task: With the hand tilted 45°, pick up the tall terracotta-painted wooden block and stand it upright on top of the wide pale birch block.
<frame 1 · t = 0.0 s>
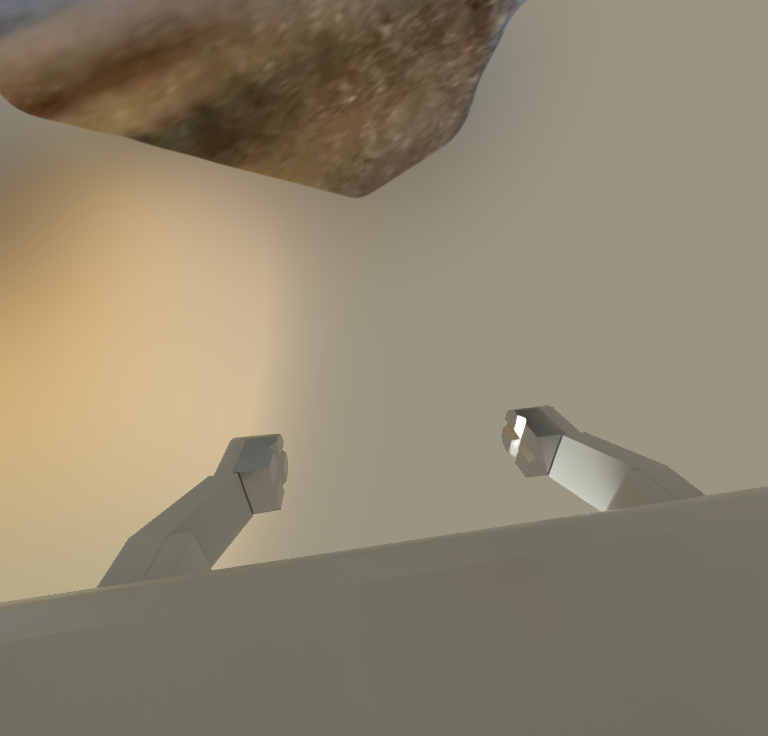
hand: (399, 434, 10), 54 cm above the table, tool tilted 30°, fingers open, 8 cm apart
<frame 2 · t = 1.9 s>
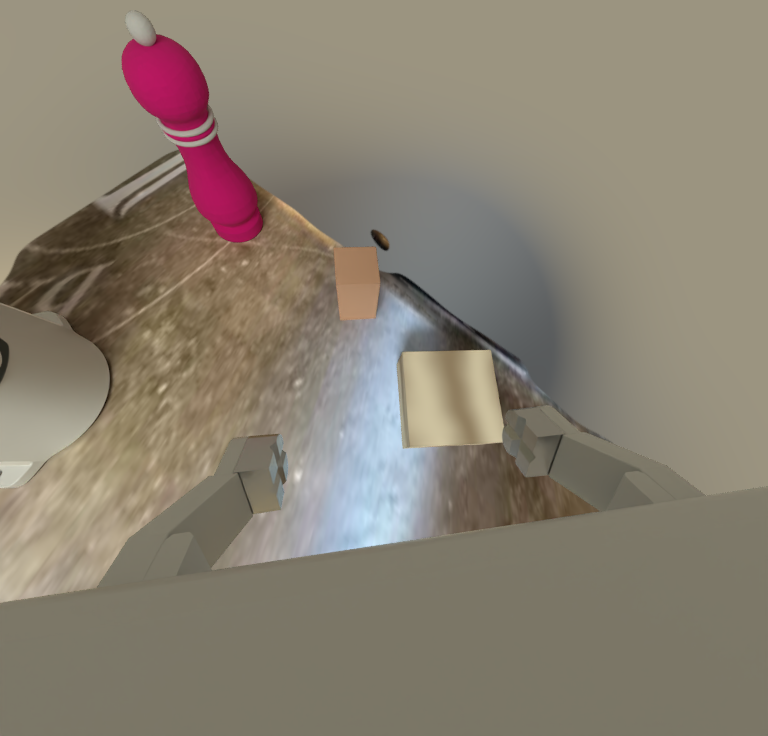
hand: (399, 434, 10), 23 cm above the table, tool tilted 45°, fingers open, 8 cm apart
birch block: (439, 403, 35), on the table
terracotta block: (356, 303, 38), on the table
pepper mill: (240, 225, 40), on the table
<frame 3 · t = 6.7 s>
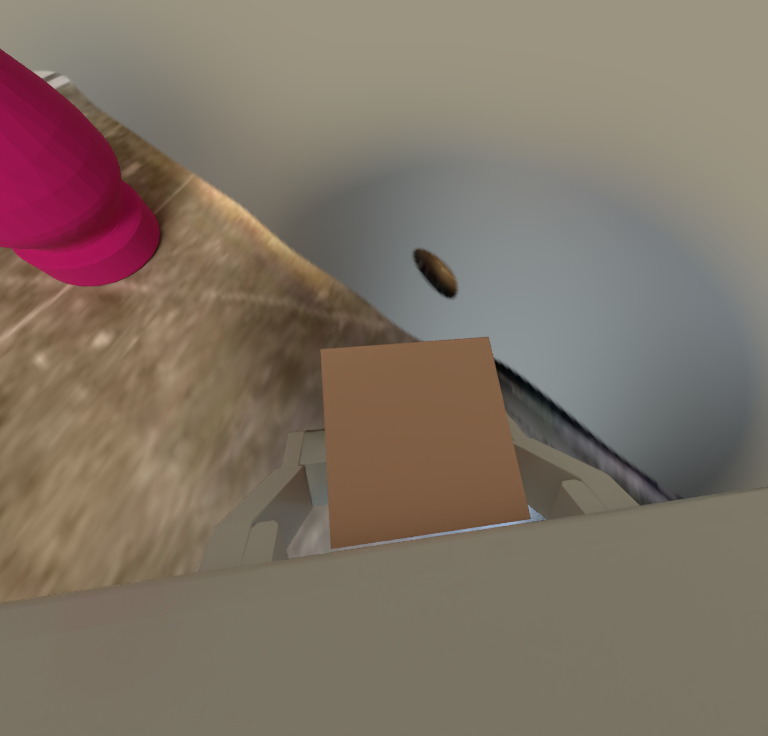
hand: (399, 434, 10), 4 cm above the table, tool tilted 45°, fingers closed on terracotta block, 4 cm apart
terracotta block: (387, 444, 15), on the table, touching gripper
pepper mill: (105, 242, 17), on the table
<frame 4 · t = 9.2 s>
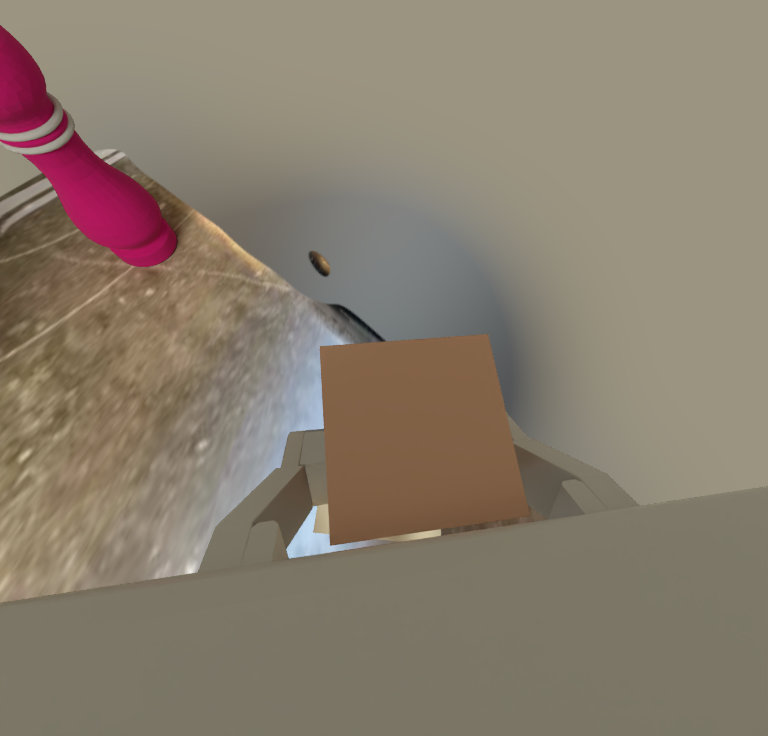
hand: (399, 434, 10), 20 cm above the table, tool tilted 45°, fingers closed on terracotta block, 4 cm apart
birch block: (379, 468, 29), on the table
terracotta block: (387, 442, 15), point 15 cm above the table, touching gripper
pepper mill: (149, 245, 33), on the table
when the fingers open (11 cm above the table, at t = 11.8 s): terracotta block drops 2 cm, resting on birch block.
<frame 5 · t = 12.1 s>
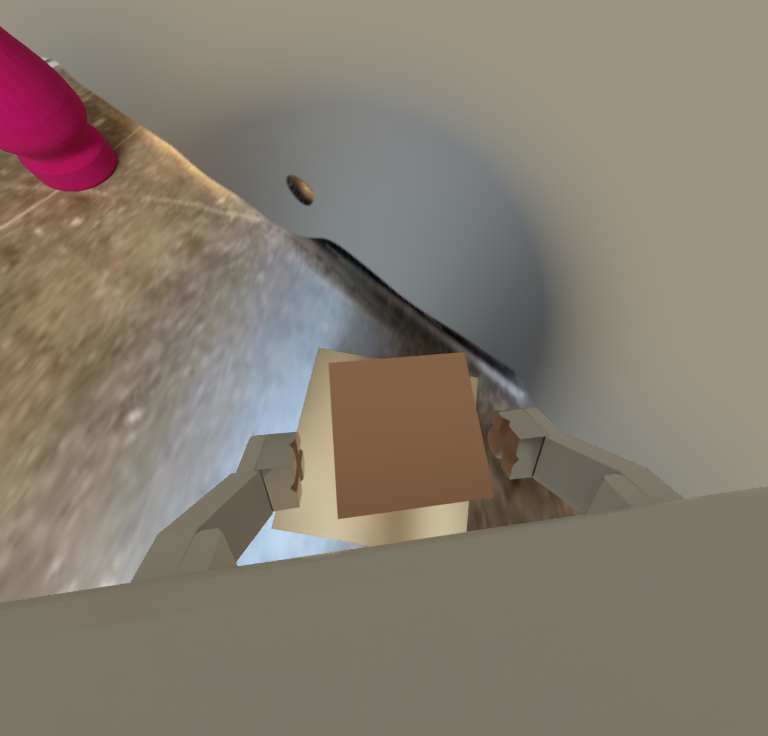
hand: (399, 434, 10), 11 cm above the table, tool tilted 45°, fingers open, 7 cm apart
birch block: (379, 448, 21), on the table, touching terracotta block
terracotta block: (384, 443, 16), point 5 cm above the table, touching birch block
pepper mill: (80, 167, 26), on the table
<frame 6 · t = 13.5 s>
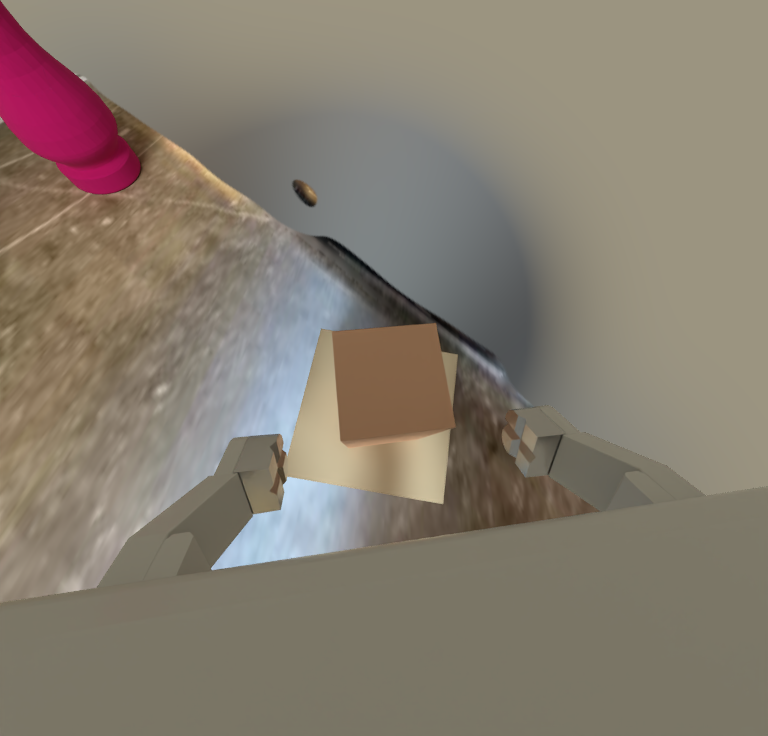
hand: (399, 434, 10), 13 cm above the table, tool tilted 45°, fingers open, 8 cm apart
birch block: (374, 419, 24), on the table, touching terracotta block
terracotta block: (379, 409, 19), point 5 cm above the table, touching birch block
pepper mill: (109, 172, 29), on the table
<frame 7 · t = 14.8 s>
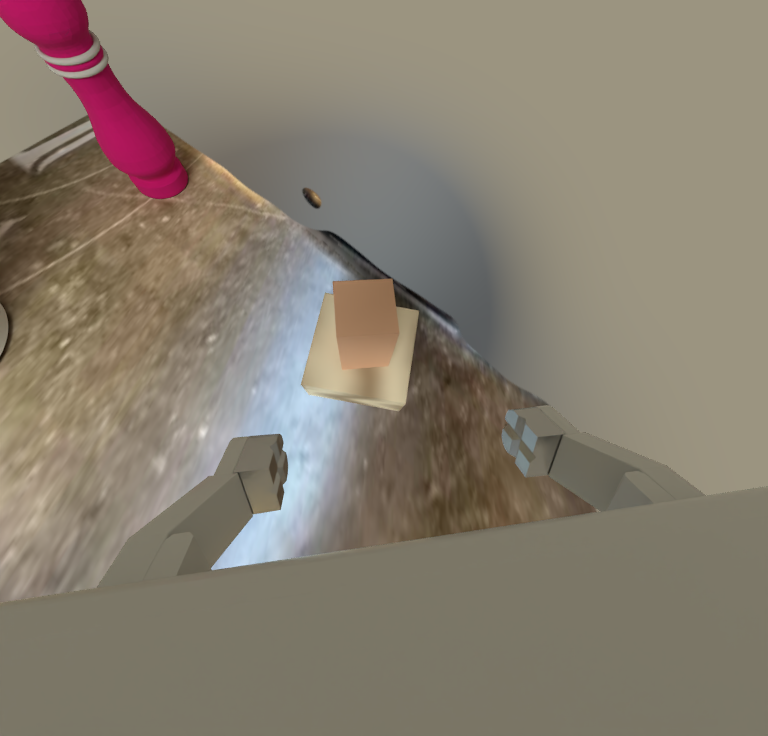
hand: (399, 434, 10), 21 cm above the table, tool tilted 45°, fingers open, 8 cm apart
birch block: (362, 361, 34), on the table
terracotta block: (363, 346, 29), point 5 cm above the table
pepper mill: (164, 182, 39), on the table
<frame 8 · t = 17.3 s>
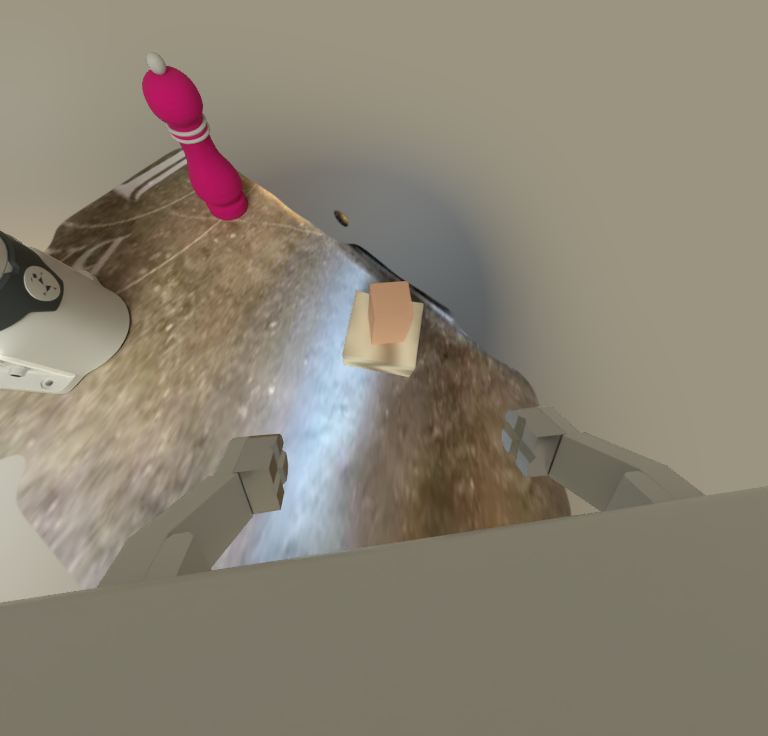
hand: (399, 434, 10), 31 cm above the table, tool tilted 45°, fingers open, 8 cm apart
birch block: (381, 341, 46), on the table, touching terracotta block
terracotta block: (385, 328, 41), point 5 cm above the table, touching birch block
pepper mill: (229, 207, 51), on the table
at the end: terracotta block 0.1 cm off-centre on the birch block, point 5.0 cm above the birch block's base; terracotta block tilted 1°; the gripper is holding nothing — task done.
